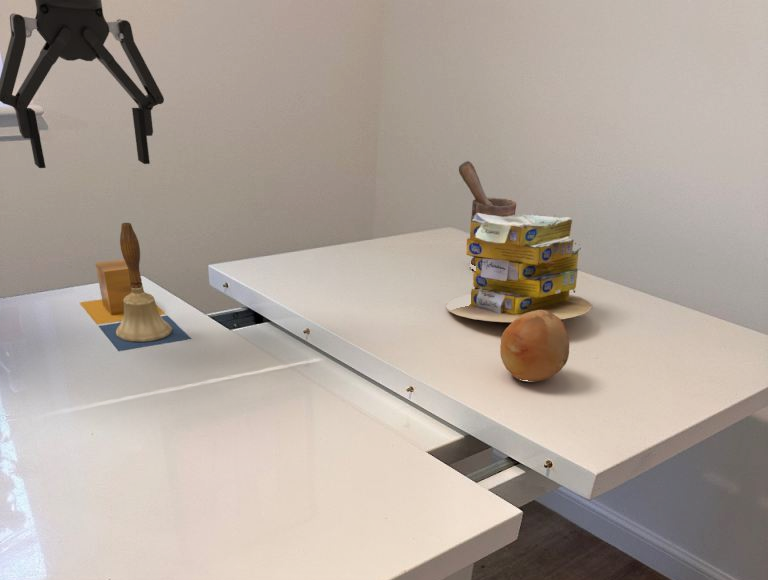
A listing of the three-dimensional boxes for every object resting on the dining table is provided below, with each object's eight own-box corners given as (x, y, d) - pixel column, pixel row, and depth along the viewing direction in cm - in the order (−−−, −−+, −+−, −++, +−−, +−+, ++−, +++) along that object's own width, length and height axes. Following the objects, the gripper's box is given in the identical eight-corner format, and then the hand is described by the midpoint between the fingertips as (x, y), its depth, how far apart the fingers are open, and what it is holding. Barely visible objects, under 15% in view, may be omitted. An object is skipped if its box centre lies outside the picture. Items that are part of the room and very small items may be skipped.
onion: (503, 359, 110) (513, 295, 104) (568, 372, 107) (582, 307, 101) (487, 384, 102) (497, 316, 97) (556, 398, 100) (571, 329, 94)
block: (102, 305, 119) (95, 262, 115) (133, 301, 121) (126, 259, 117) (111, 315, 115) (103, 271, 111) (142, 310, 118) (136, 267, 114)
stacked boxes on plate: (419, 301, 130) (427, 203, 120) (526, 285, 140) (541, 194, 131) (503, 352, 113) (520, 242, 103) (617, 329, 123) (642, 228, 114)
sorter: (79, 305, 120) (79, 302, 119) (145, 296, 125) (144, 293, 124) (119, 354, 104) (118, 351, 104) (191, 341, 110) (191, 338, 109)
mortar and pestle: (461, 277, 143) (473, 167, 131) (445, 264, 149) (455, 158, 138) (513, 274, 146) (530, 167, 134) (495, 261, 153) (509, 158, 141)
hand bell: (120, 345, 106) (101, 232, 97) (112, 325, 112) (93, 218, 103) (177, 338, 109) (163, 229, 100) (166, 319, 115) (152, 215, 106)
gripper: (-51, -43, 76) (-2, 173, 89) (177, -23, 88) (192, 165, 100) (-60, -43, 81) (-13, 162, 94) (157, -25, 93) (174, 155, 105)
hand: (93, 164), depth 97 cm, fingers open, 13 cm apart
